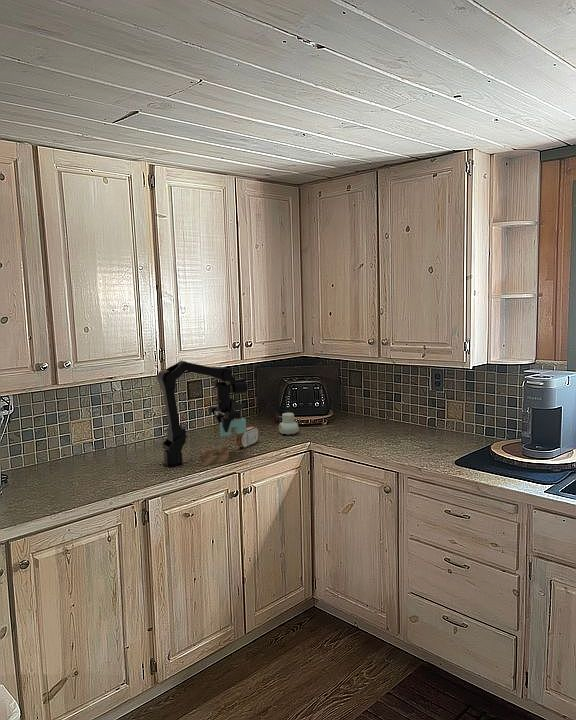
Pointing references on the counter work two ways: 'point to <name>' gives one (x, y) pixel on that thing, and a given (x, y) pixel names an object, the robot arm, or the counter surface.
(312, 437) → the counter surface
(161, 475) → the counter surface
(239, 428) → the notched teal slat
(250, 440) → the tin
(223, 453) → the notched walnut block
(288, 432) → the air freshener
